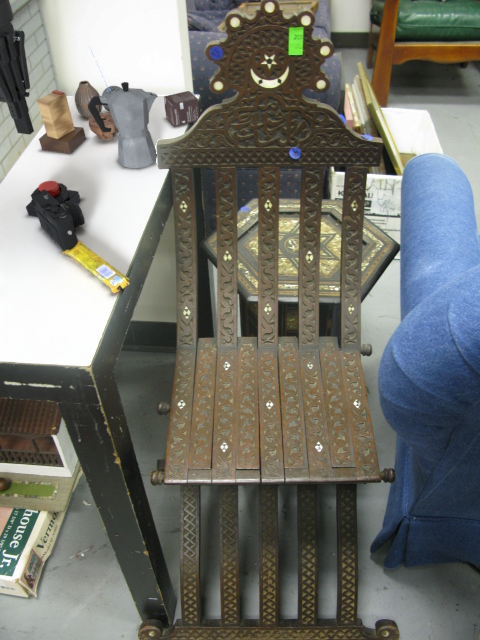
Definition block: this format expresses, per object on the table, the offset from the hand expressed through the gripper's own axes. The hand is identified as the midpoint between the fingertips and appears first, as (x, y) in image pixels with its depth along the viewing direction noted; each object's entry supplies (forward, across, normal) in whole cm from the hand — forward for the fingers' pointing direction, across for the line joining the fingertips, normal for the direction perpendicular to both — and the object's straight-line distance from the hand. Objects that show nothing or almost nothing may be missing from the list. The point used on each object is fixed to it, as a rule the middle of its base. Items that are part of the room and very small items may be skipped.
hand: (26, 132), depth 108 cm
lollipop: (+5, +45, +2) cm, 45 cm away
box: (+13, +47, -17) cm, 52 cm away
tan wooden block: (+13, +25, +10) cm, 30 cm away
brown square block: (+16, +25, +10) cm, 32 cm away
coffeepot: (+16, +22, -10) cm, 29 cm away
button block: (+16, -1, -2) cm, 16 cm away
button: (+13, -1, -2) cm, 13 cm away
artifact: (+16, +31, +1) cm, 35 cm away
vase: (+16, +42, +11) cm, 46 cm away
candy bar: (+13, -19, -21) cm, 31 cm away
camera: (+16, -10, -10) cm, 21 cm away
